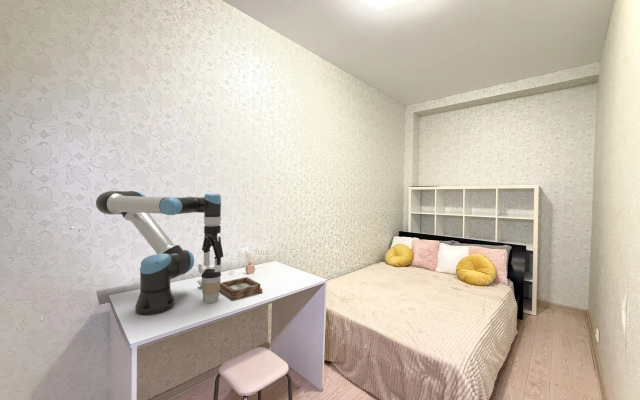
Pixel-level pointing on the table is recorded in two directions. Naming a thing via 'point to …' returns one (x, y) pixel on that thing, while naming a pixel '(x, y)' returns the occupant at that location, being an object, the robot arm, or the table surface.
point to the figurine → (203, 271)
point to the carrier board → (240, 288)
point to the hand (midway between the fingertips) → (211, 268)
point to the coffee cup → (210, 285)
